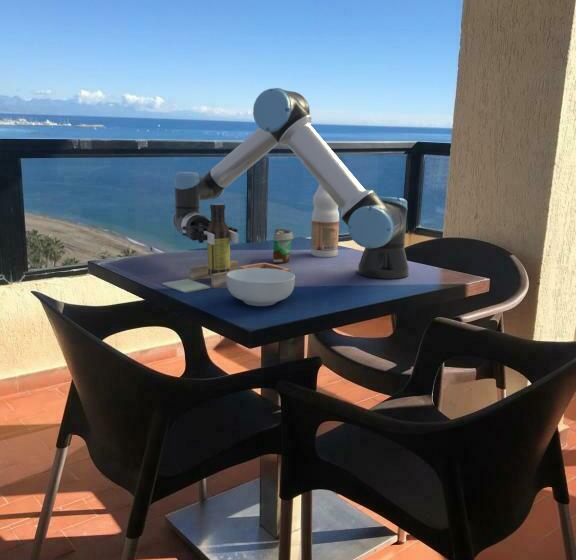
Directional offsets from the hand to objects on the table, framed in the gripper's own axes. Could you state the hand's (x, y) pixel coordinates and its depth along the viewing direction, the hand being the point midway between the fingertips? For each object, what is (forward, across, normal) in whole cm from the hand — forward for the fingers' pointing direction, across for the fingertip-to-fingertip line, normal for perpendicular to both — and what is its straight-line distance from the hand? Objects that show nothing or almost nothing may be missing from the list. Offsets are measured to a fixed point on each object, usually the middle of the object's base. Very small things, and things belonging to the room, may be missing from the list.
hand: (225, 239), depth 161 cm
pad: (-2, +10, -13) cm, 16 cm away
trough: (-5, -2, -13) cm, 14 cm away
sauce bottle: (-5, 0, -11) cm, 12 cm away
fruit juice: (-27, -47, -13) cm, 56 cm away
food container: (-22, -29, -13) cm, 38 cm away
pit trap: (-9, -16, -12) cm, 22 cm away
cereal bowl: (+20, -2, -13) cm, 24 cm away
